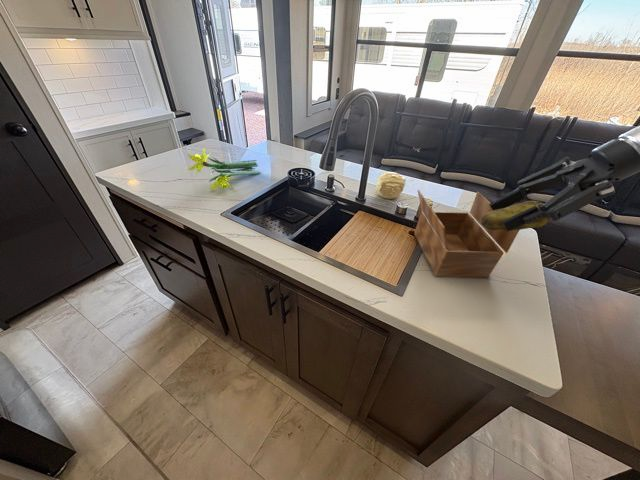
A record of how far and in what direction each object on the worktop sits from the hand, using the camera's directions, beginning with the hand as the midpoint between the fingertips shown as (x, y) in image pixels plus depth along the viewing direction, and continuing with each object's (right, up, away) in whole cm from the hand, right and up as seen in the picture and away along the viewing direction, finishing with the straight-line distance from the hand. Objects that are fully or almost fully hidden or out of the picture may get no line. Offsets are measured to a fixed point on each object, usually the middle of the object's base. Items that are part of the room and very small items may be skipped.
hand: (498, 217), depth 59 cm
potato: (+3, -3, +2) cm, 5 cm away
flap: (-9, +1, +15) cm, 18 cm away
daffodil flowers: (-83, +22, +59) cm, 104 cm away
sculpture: (-11, +15, +55) cm, 58 cm away
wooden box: (0, -10, +24) cm, 26 cm away
